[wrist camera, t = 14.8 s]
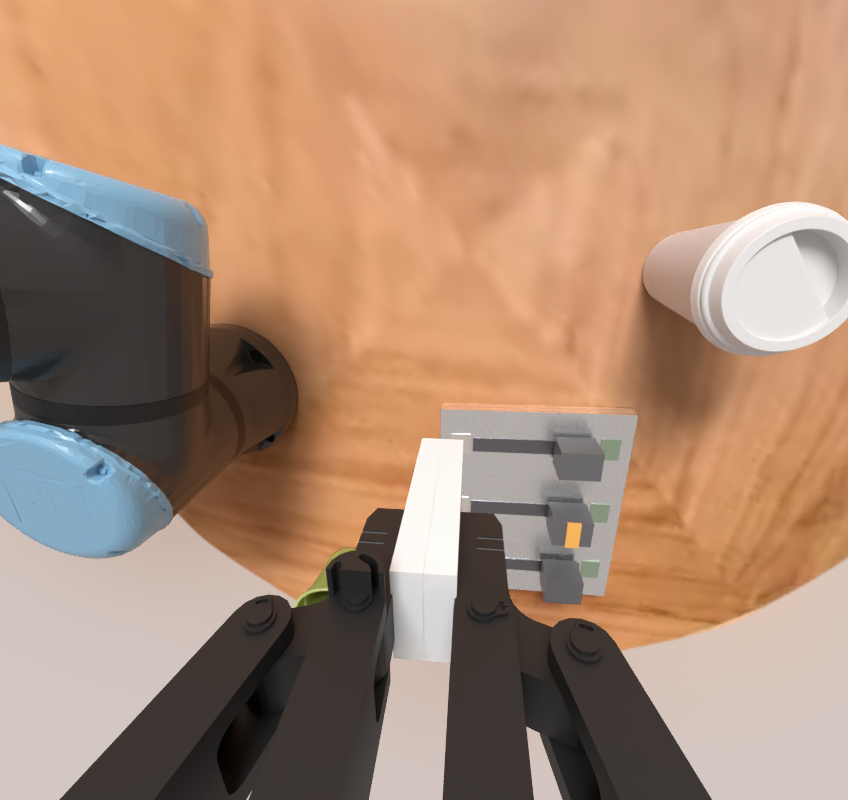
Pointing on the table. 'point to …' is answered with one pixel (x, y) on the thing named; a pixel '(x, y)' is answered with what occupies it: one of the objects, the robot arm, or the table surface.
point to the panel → (541, 480)
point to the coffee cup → (757, 278)
